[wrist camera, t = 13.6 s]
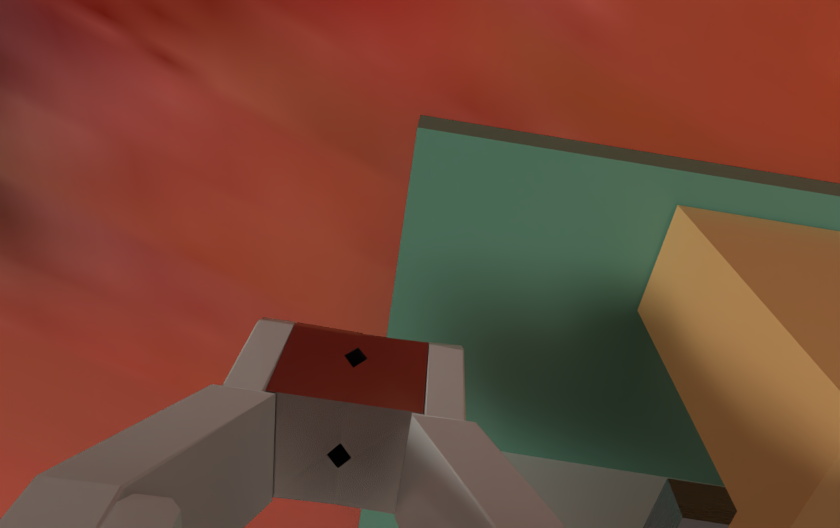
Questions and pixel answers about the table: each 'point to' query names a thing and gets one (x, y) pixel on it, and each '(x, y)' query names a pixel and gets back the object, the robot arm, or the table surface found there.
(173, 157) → the table surface
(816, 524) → the tan wooden block
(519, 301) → the board
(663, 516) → the dark grey flat bar
